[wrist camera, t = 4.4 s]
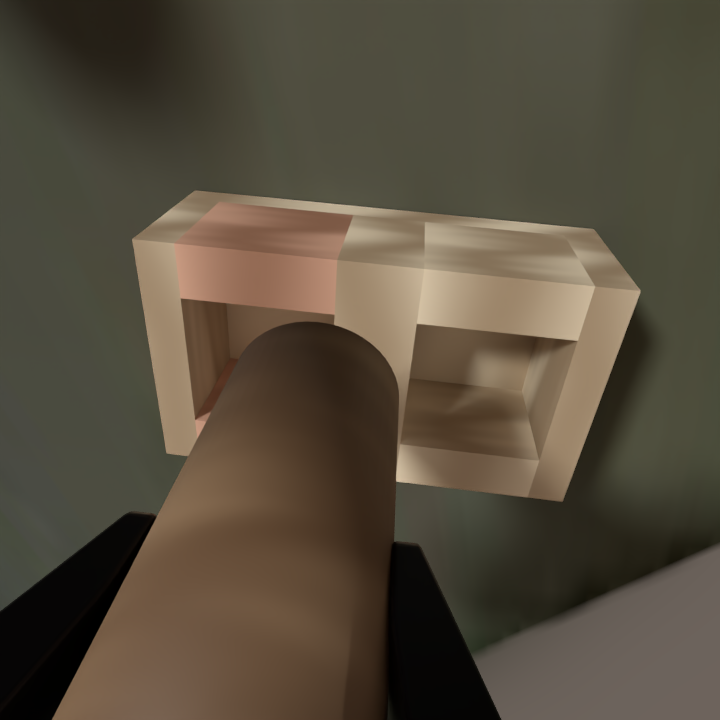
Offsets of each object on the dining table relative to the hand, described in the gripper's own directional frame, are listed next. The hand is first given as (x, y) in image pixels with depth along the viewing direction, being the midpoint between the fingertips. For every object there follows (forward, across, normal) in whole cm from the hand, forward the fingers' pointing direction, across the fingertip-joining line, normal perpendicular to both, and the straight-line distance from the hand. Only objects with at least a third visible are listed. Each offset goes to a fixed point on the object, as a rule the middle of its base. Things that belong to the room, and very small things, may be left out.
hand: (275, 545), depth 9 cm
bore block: (+14, -1, +3) cm, 14 cm away
